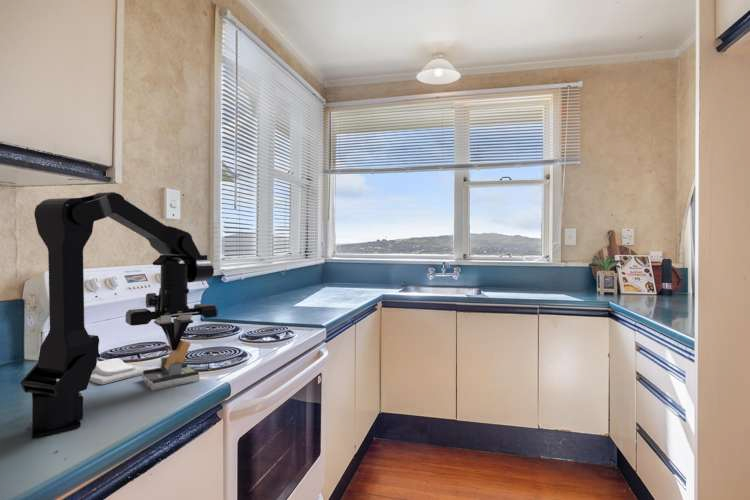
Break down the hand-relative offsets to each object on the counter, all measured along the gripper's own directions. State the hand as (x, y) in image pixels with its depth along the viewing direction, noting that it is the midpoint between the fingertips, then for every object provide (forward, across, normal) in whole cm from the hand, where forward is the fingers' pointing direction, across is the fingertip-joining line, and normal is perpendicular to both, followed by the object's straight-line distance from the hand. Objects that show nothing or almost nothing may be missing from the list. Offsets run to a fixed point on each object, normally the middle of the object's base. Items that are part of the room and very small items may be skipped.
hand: (173, 350), depth 93 cm
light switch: (+8, +10, -14) cm, 19 cm away
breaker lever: (+4, 0, 0) cm, 5 cm away
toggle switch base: (+7, 0, 0) cm, 7 cm away
